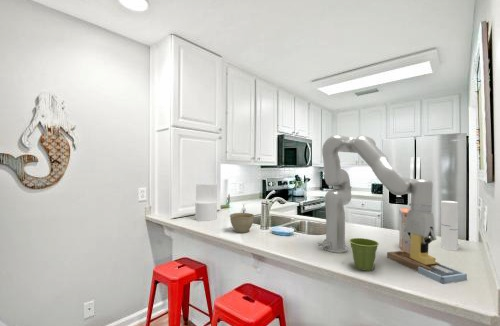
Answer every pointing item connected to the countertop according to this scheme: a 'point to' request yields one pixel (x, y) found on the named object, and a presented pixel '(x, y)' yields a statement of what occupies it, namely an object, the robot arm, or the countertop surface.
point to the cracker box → (403, 235)
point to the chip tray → (444, 279)
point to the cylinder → (206, 202)
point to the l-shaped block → (419, 251)
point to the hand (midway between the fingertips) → (419, 250)
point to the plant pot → (363, 252)
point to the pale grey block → (436, 269)
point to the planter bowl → (241, 221)
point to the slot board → (408, 260)
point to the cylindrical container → (449, 225)
